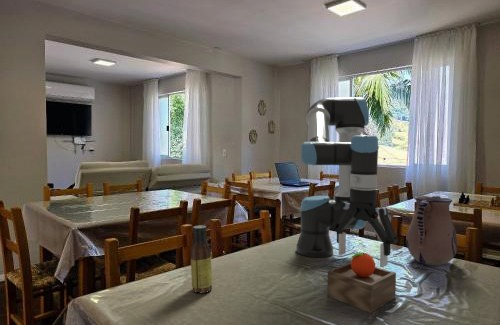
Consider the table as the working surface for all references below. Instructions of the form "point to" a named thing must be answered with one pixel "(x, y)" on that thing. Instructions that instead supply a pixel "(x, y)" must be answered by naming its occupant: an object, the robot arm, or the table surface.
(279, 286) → the table surface
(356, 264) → the clementine
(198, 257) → the sauce bottle
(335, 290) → the walnut tray
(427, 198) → the ceramic pitcher
